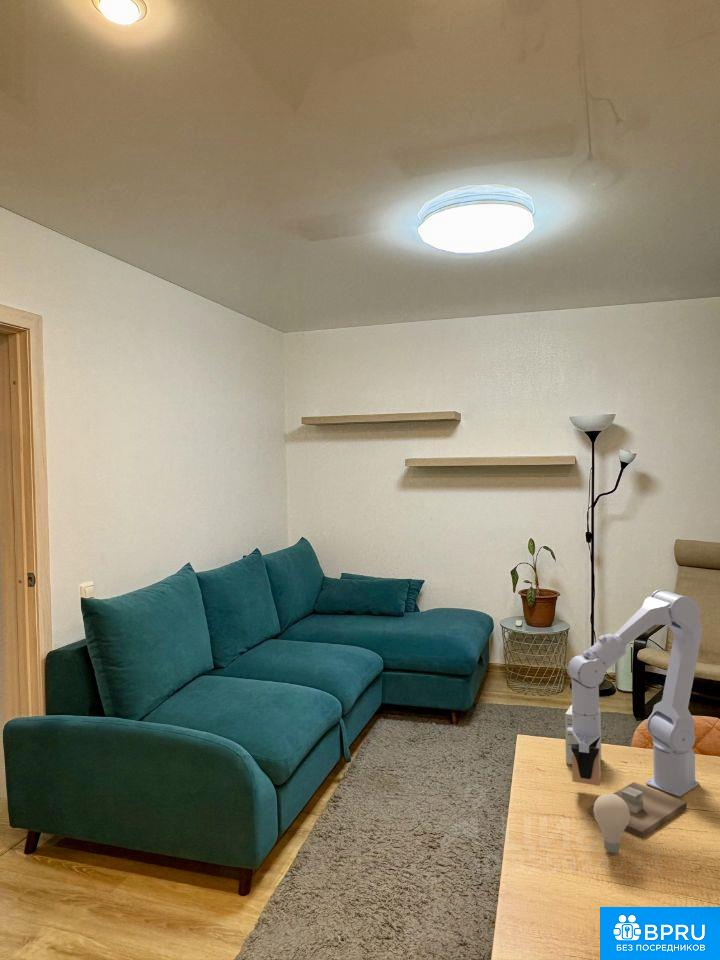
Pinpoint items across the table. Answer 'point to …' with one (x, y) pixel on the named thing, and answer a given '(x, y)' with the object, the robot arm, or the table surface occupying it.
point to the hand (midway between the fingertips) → (586, 771)
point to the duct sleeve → (595, 772)
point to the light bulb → (611, 819)
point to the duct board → (647, 808)
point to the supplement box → (571, 739)
